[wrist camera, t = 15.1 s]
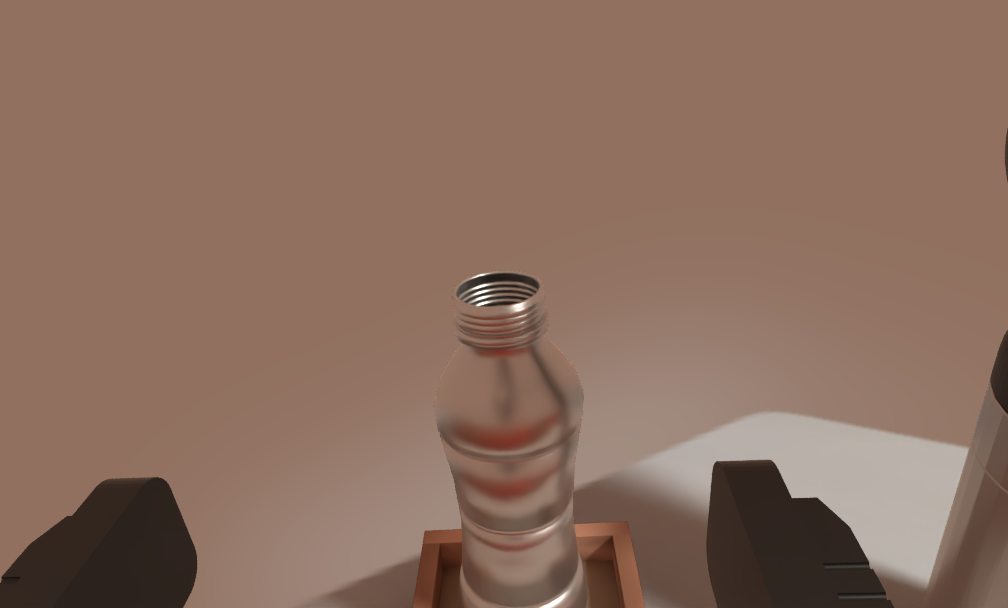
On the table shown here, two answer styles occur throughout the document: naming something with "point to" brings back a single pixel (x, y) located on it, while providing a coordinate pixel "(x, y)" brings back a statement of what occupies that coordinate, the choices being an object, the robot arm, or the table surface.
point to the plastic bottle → (512, 447)
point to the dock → (599, 544)
